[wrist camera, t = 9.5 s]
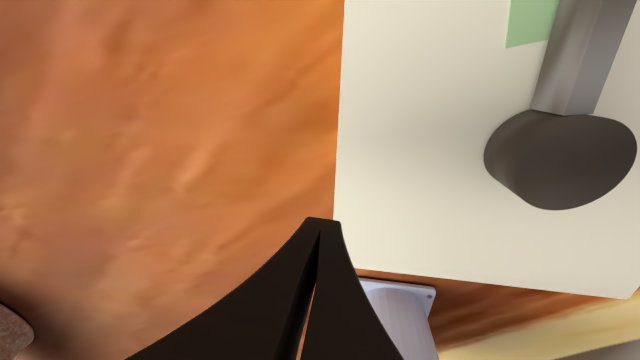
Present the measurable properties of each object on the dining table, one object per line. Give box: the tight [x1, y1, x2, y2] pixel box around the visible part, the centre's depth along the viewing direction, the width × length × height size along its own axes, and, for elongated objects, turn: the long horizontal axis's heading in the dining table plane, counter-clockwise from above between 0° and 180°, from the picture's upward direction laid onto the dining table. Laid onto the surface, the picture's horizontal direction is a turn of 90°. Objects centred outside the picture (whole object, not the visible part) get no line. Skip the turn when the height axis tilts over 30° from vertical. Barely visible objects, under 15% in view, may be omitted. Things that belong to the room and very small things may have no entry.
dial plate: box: [333, 0, 640, 300], centre depth 15 cm, size 24×24×1 cm
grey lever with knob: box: [484, 0, 637, 211], centre depth 11 cm, size 14×5×3 cm, turn 6°
